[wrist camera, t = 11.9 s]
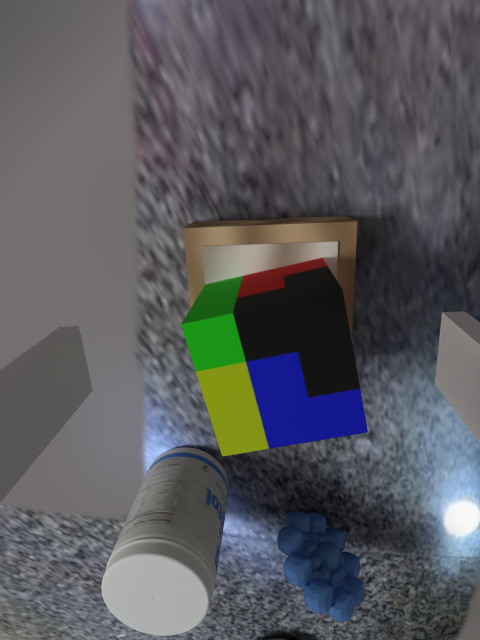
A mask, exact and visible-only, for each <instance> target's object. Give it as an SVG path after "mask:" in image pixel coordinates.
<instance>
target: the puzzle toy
mask: <svg viewBox="0 0 480 640" xmlns="http://www.w3.org/2000/svg"><path fill="white" fill-rule="evenodd" d="M181 325H182V328H183V332H184V335H185V338H186V341H187V344H188V348H189V351H190V354H191V357H192V361H193V364H194V367H195V370H196V373H197V377H198V380H199V383H200V386H201V390H202V393H203V396H204V399H205V402H206V406H207V409H208V412H209V415H210V419H211V422H212V425H213V428H214V432H215V435H216V438H217V441H218V444H219V448H220V451H221V454H222V456H228V455H234V454H240V453H246V452H252V451H258V450H264V449H270V448H276V447H282V446H288V445H294V444H300V443H306V442H312V441H318V440H324V439H330V438H336V437H342V436H348V435H354V434H360V433H366V432H368V431H367V425H366V419H365V414H364V408H363V402H362V397H361V391H360V385H359V380H358V374H357V368H356V362H355V357H354V351H353V345H352V340H351V334H350V328H349V323H348V317H347V311H346V306H345V300H344V294H343V289H342V288H341V286H340V284H339V283H338V281H337V280H336V278H335V277H334V275H333V273H332V272H331V270H330V269H329V267H328V266H327V264H326V262H325V261H324V259H323V258H318V259H314V260H309V261H305V262H301V263H296V264H292V265H288V266H283V267H279V268H275V269H270V270H266V271H261V272H257V273H253V274H248V275H244V276H240V277H235V278H231V279H226V280H222V281H218V282H213V283H209V284H205V285H204V287H203V289H202V290H201V292H200V294H199V295H198V297H197V299H196V300H195V302H194V304H193V306H192V307H191V309H190V311H189V312H188V314H187V316H186V317H185V319H184V321H183V322H182V324H181Z"/></svg>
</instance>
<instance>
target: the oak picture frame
mask: <svg viewBox="0 0 480 640" xmlns="http://www.w3.org/2000/svg"><path fill="white" fill-rule="evenodd" d="M183 231H184V242H185V253H186V264H187V276H188V287H189V298H190V309H191V307H192V306H193V304H194V302H195V300H196V299H197V297H198V295H199V294H200V292H201V290H202V289H203V287H204V285H205V284H209V283H213V282H218V281H222V280H226V279H231V278H235V277H240V276H244V275H248V274H253V273H257V272H261V271H266V270H270V269H275V268H279V267H283V266H288V265H292V264H296V263H301V262H305V261H309V260H314V259H318V258H323V259H324V261H325V262H326V264H327V266H328V267H329V269H330V270H331V272H332V273H333V275H334V277H335V278H336V280H337V281H338V283H339V284H340V286H341V288H342V289H343V294H344V300H345V306H346V311H347V317H348V323H349V328H350V334H351V340H352V330H353V308H354V286H355V264H356V242H357V221H356V220H354V219H352V218H350V217H348V216H330V217H306V218H281V219H256V220H231V221H207V222H193V223H191V224H189V225H188V226H186V227H185V228H183ZM196 376H197V373H196ZM197 381H199V380H198V377H197Z"/></svg>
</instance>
